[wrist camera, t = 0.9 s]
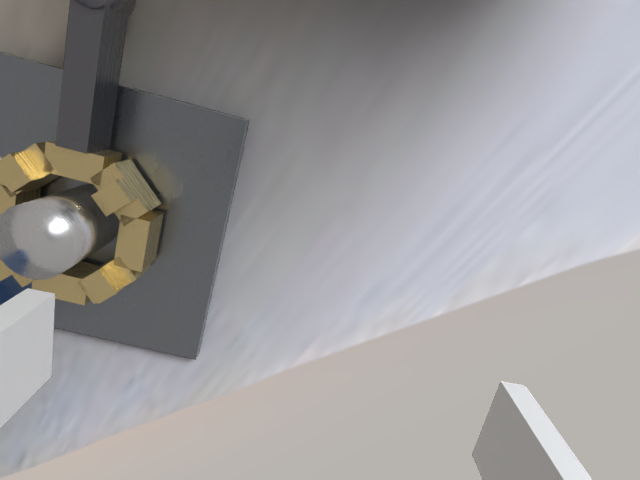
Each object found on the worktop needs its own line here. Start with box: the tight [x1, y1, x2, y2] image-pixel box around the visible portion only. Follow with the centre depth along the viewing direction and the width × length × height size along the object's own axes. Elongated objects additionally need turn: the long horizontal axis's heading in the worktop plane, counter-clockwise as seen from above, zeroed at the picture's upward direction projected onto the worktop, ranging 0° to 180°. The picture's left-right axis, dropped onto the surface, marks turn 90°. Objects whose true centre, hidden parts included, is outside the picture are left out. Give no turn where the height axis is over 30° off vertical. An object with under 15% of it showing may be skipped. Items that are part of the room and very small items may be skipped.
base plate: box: [0, 52, 249, 360], centre depth 31 cm, size 20×20×8 cm
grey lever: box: [0, 0, 164, 305], centre depth 30 cm, size 22×11×4 cm, turn 165°
